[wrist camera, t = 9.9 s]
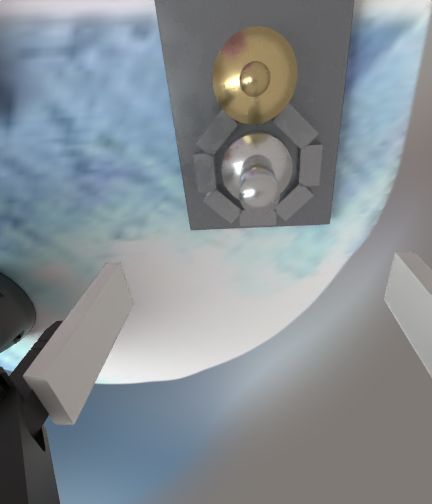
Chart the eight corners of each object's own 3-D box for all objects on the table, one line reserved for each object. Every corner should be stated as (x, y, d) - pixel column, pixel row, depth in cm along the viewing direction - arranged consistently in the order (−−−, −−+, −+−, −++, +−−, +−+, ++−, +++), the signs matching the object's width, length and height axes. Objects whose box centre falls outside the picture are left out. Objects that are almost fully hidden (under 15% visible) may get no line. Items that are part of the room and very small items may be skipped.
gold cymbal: (219, 123, 29) (214, 131, 25) (211, 35, 25) (205, 29, 22) (292, 116, 28) (299, 123, 24) (295, 24, 24) (303, 16, 21)
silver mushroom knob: (226, 201, 33) (220, 237, 26) (219, 134, 29) (210, 156, 22) (289, 195, 32) (303, 232, 25) (290, 127, 28) (306, 146, 21)
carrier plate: (192, 224, 37) (188, 234, 34) (157, -6, 25) (148, -13, 23) (326, 218, 35) (332, 228, 32) (352, -36, 23) (364, -47, 21)
